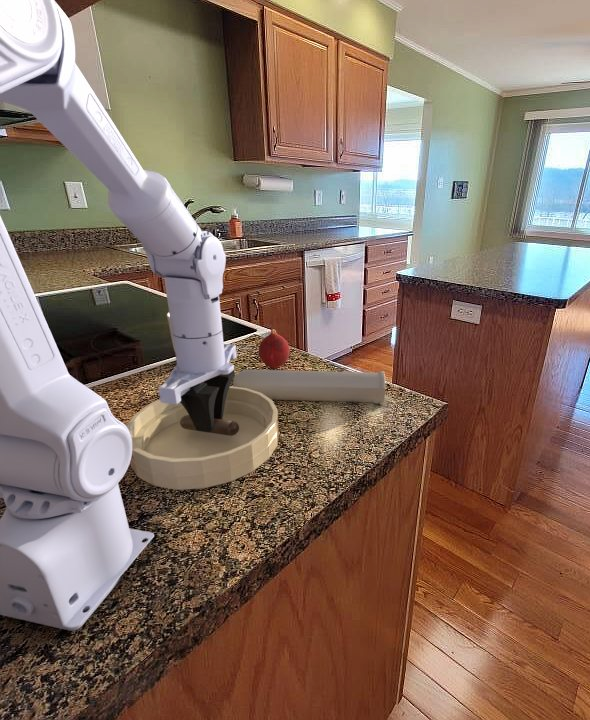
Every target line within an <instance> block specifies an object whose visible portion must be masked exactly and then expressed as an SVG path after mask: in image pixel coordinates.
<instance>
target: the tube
mask: <svg viewBox="0 0 590 720" xmlns="http://www.w3.org/2000/svg"><path fill="white" fill-rule="evenodd" d="M232 386H233V387H241V388H248V389H251V390H254V391H257V392H260V393H262V394H264V395H265V396H267V397H268V398H269V399H271V400H272V401H273V400H274V401H308V402H309V401H311V402H343V403H344V402H349V403H351V402H352V403H373V404H378V405H380V406H384V405H385V399H386V374H385V370H382V371H379V372H368V371H367V372H365V371H330V370H329V371H328V370H327V371H325V370H291V369H289V370H288V369H286V370H285V369H282V370H281V369H250V368H249V369H248V368H247V369H243V370H241V371H239V372H238V373H236V374H235V376H234V378H233V380H232Z"/></svg>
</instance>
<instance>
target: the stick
mask: <svg viewBox="0 0 590 720" xmlns="http://www.w3.org/2000/svg"><path fill="white" fill-rule="evenodd" d="M180 425H181V427H182V428H184V429H187V430H194V431H197V430H196V428H195V426H194V424H193V422H192V420H191V418H190V416H189V415H185V416H183V417H182V418H181V420H180ZM238 431H239V425H238V423H237V422H235V421H230V420H223V419H216V418H214V426H213V430H212V431H211V432H208V433H215V434H222V435H229V436H233V435H235V434H237V433H238ZM201 432H203V431H201Z"/></svg>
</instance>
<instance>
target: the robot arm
mask: <svg viewBox="0 0 590 720" xmlns="http://www.w3.org/2000/svg"><path fill="white" fill-rule="evenodd" d="M72 25H73V24H72V22H71V19H70V18H69V17H68V16H67V14H66V13H65V12H64V11H63V9H62V8H61V6H60V5H59V4H58V3H57V1H56V0H0V102H2V103H5V104H8V105H12V106H15V107H19V108H21V109H24V110H26V111H28V113H30V114H31V115H32V116H33V117H34V118H36V120H37V121H38V122H39V123H41V125H43V127H45V129H47V131H49V133H51V135H53V137H55V138H56V139H57V140H58V142H60V144H62V145H63V146H64V147H65V148H66V149H67V150H68V151H69V152H70V154H72V155H73V156H74V157H75V158H76V159H77V160H78V161H79V162H80V163H81V164H82V165H83V166H84V167H85V168H86V169H87V170H88V171H89V172H90V173H91V174H92V175H93V176H94V177H95V178H96V179H97V180H99V182H100V183H102V184H103V185H104V186H105V187H106V188H107V189H108V193H107V204H108V208H109V209H110V212H111V213H112V214H113V215H114V216H115V217H116V218H117V219H118V220H119V221H120V222H121V223H122V224H123V225H124V226H125V227H126V228H127V230H129V231H130V233H132V235H133V236H134V237H135V238H136V239H137V241H139V242H140V244H141V246H142V250H143V251H144V253H145V255H146V258H147V262H148V266H149V268H150V270H151V271H152V273H153V274H156V275H157V276H158V277H160V278H163V281H164V286H165V287H164V288H165V294H166V300H167V307H168V312H169V314H170V321H171V328H172V335H173V341H174V347H173V349H174V348H175V351H174V354H175V359H176V360H175V361H176V365H174V367H173V369H172V371H171V372H170V374H169V375H168V377H167V379H166V380H165V381H164V382H163V383H162V384H161V385H160V386H158V387H157V388H158V389H157V390H158V394H159V399H160V401H161V403H167V404H175V405H177V404H178V403H179V402H180V403H181V404H182V405H183V406H184V408H185V409H186V411H187V412H188V414H189V416H190V418H191V420H192V422H193V424H194V426H195V428H196V430H197V431H203V432H211V431H212V430H213V426H214V418H216V419H222V418H223V413H224V407H225V402H226V397H227V393H228V390H229V387H230V386H231V384H232V383H233V379H234V376H235V375H236V374H235V365H234V364H233V363H230V361H233V360H235V359H237V357H238V355H237V346H236V344H229V343H228V344H227V343H224V332H223V322H222V321H223V320H222V312H221V302H220V301H221V300H220V295H222V293H223V289H224V282H223V280H224V279H223V278H224V273H225V269H226V264H227V263H226V261H227V260H226V259H227V253H225V250H224V247H223V244H222V243H221V241H220V239H218V238H217V237H216V236H215V235H213V233H212V232H210V231H207V230H202V229H201V227H200V226H199V225H198V223H197V222H196V220H195V218H194V217H193V216H192V214H191V213H190V212H189V210H188V209H187V207H186V206H185V204H184V203H183V202H182V200H181V199H180V197H179V196H178V195H177V194H176V192H175V191H174V189H173V187H172V185H171V183H169V181H168V180H167V178H166V176H163V175H162V174H160V173H159V172H157V171H153V170H149V169H143V167H142V165H141V164H140V162H139V161H138V159H137V158H136V156H135V154H134V153H133V151H132V150H131V148H130V146H129V145H128V143H127V142H126V140H125V139H124V137H123V135H122V134H121V133H120V131H119V129H118V127H117V125H115V123H114V122H113V120H112V118H111V116H110V115H109V113H108V112H107V110H106V109H105V107H104V106H103V104H102V102H101V101H100V99H99V98H98V96H97V95H96V93H95V91H94V90H93V89H92V87H91V85H90V84H89V82H88V81H87V79H86V77H85V76H84V74H83V72H82V71H81V69H80V68H79V67H78V65H77V63H76V41H75V34H74V30H73V26H72ZM131 456H132V439H131V435H130V432H129V430H128V428H127V427H126V424H125V423H123V422H122V421H120V420H119V419H118V418H116V417H115V415H114V414H113V413H112V411H111V409H110V407H109V404H108V402H107V400H106V399H105V398H103V397H102V396H101V395H99V394H98V393H97V392H95V391H93V390H92V389H91V388H89V387H87V386H86V385H85V384H83V383H82V382H80V381H79V380H77V379H76V378H75V377H73V376H72V375H70V373H69V371H68V368H67V366H66V364H65V362H64V359H63V357H62V355H61V352H60V350H59V348H58V346H57V343H56V341H55V339H54V336H53V334H52V331H51V329H50V328H49V325H48V323H47V320H46V318H45V316H44V313H43V310H42V309H41V306H40V304H39V302H38V299H37V298H36V294H35V293H34V290H33V287H32V285H31V283H30V280H29V278H28V276H27V273H26V272H25V269H24V267H23V265H22V263H21V260H20V258H19V256H18V253H17V251H16V249H15V246H14V244H13V242H12V239H11V237H10V235H9V233H8V230H7V228H6V226H5V223H4V221H3V219H2V216H1V215H0V498H1V499H3V502H4V504H5V507H6V508H5V509H4V512H3V514H2V516H1V518H0V616H3V617H8V618H12V619H17V620H21V621H26V622H30V623H35V624H39V625H43V626H47V627H52V628H56V629H61V630H64V631H69V632H74V631H78V630H79V629H80V628H82V627H83V625H84V624H85V623H86V622H87V620H89V618H90V617H91V616H92V614H94V613H95V612H96V610H97V608H99V606H100V605H101V604H102V603H103V601H104V600H105V599H106V598H107V597H108V595H109V594H110V593H111V592H112V590H113V589H114V588H115V587H116V586H117V585H118V584H119V582H120V581H121V580H122V578H121V577H122V575H123V574H124V573H125V572H126V571H127V570H128V569H129V567H130V566H131V565H132V564H133V562H134V561H135V560H136V558H138V556H139V555H140V554H141V553H142V551H143V550H145V548H146V547H147V546H148V545H149V543H150V542H151V541H152V540H153V538H154V537H155V534H154V532H150V531H146V530H140V529H134V528H130V525H129V522H128V518H127V514H126V510H125V506H124V501H123V498H122V493H121V490H120V485H119V483H120V481H121V480H122V479H123V477H124V476H125V474H126V473H127V471H128V469H129V466H130V461H131ZM145 539H146V541H144V542H143V540H145Z"/></svg>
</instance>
